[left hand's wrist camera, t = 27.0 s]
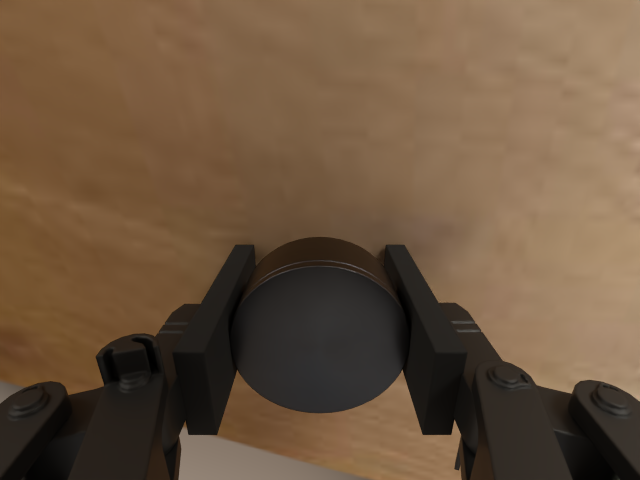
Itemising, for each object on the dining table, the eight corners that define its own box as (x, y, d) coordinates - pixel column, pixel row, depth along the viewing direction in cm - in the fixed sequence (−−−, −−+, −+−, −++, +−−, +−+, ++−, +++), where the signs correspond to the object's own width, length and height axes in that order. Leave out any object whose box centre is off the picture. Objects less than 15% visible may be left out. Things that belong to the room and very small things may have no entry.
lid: (232, 350, 13) (216, 395, 11) (259, 218, 11) (246, 245, 9) (368, 378, 14) (377, 426, 12) (417, 257, 12) (438, 290, 10)
